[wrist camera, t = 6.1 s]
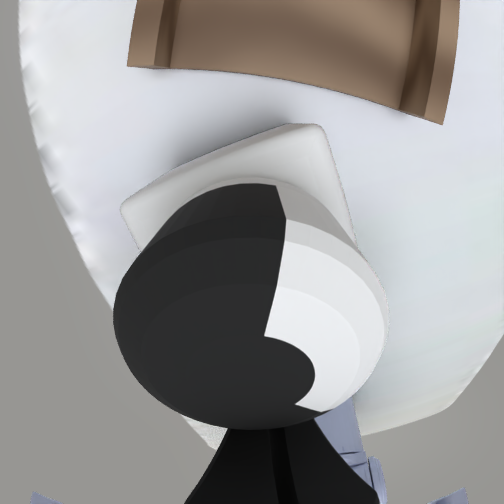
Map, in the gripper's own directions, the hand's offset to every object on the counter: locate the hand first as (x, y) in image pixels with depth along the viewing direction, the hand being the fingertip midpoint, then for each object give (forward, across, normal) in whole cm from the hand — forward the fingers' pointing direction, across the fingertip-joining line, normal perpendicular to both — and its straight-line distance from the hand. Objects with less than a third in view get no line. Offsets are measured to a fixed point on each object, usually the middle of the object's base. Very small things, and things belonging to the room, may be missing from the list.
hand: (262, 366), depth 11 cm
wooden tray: (+8, 0, -20) cm, 21 cm away
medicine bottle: (+8, +1, -4) cm, 9 cm away
